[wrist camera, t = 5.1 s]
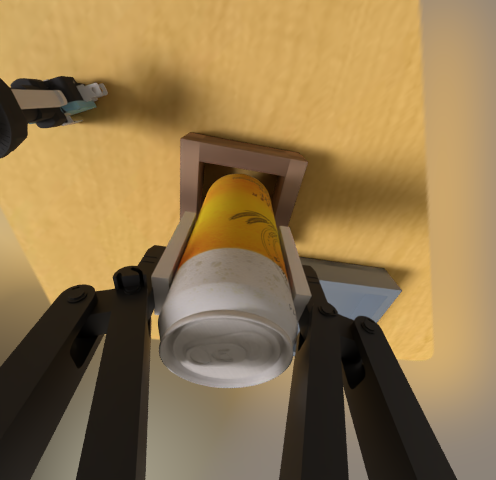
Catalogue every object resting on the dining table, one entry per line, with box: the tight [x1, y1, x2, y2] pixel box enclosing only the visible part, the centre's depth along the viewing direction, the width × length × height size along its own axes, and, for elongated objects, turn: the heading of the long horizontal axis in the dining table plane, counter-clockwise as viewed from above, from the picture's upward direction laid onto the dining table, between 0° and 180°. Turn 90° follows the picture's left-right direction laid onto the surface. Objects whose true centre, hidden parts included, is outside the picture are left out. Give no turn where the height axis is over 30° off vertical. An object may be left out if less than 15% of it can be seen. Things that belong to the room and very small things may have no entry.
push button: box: [0, 76, 108, 158], centre depth 15 cm, size 7×5×10 cm
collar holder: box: [180, 132, 308, 231], centre depth 22 cm, size 10×10×4 cm
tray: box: [293, 257, 402, 356], centre depth 31 cm, size 16×16×4 cm
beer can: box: [158, 174, 298, 388], centre depth 15 cm, size 6×6×15 cm
